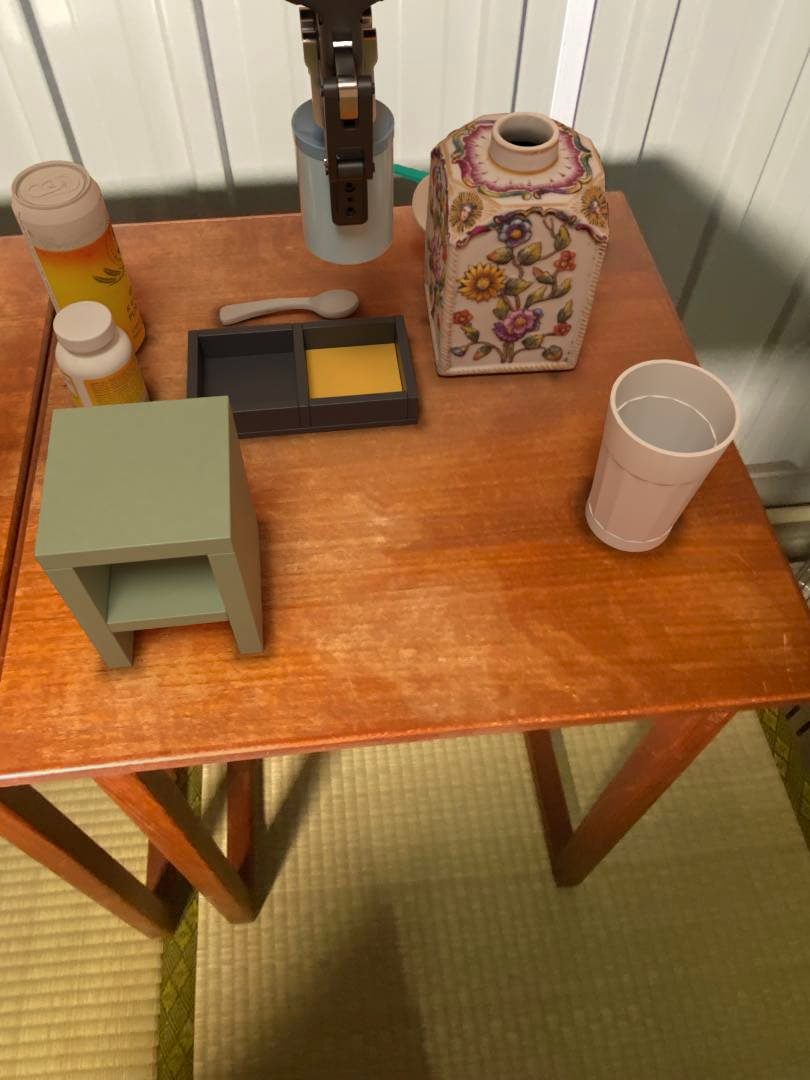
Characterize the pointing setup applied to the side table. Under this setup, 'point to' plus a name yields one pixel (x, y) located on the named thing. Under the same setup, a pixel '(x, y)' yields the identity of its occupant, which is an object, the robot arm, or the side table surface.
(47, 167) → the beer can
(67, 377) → the supplement bottle
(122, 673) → the side table surface
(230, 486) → the shelf
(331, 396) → the tray
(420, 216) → the beige rounded piece
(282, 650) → the side table surface
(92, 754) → the side table surface
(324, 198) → the blue grey cylinder
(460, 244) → the decorative jar
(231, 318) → the spoon
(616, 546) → the cup
